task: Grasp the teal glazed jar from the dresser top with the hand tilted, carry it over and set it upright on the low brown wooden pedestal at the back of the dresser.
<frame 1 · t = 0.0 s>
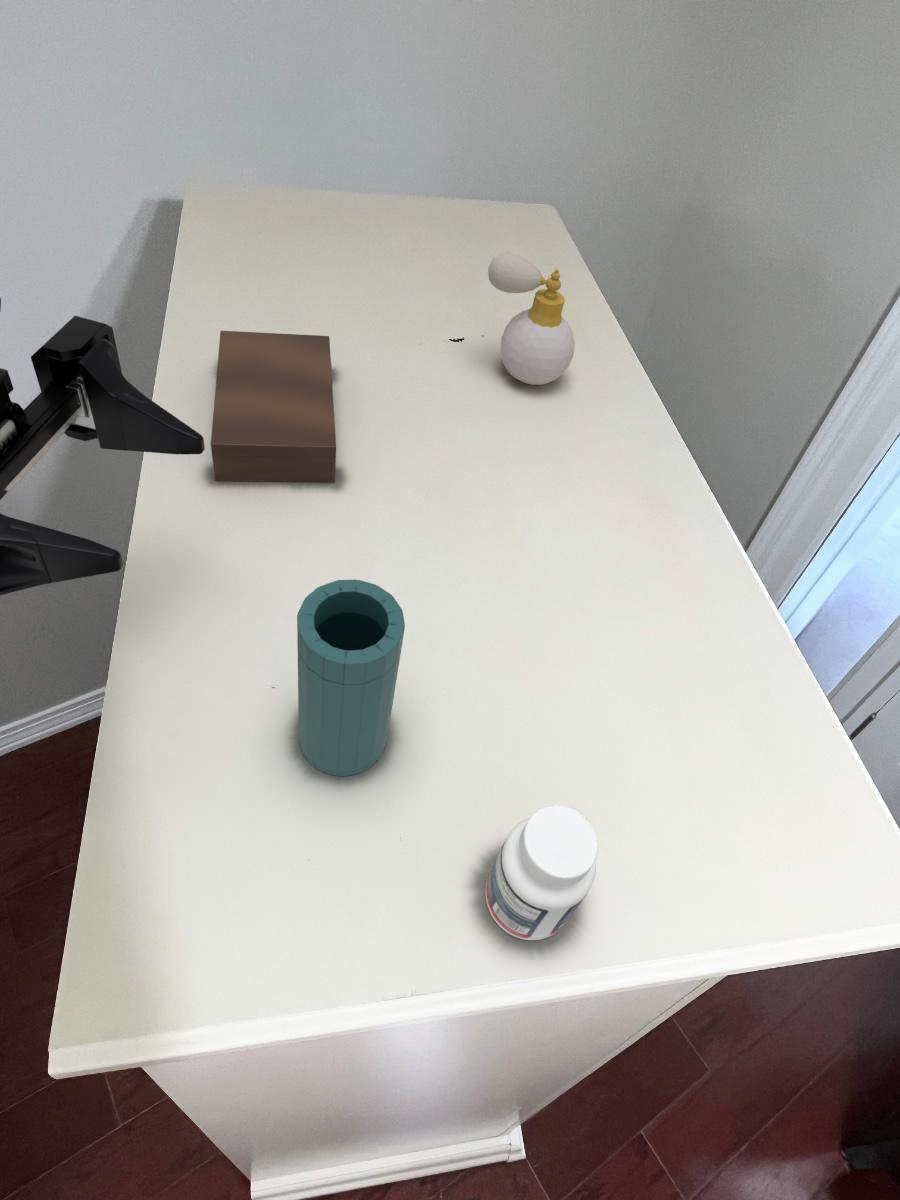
hand: (164, 499, 41), 17 cm above the dresser, tool horizontal, fingers open, 9 cm apart
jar: (342, 736, 53), on the dresser
brown wooden pedestal: (276, 421, 72), on the dresser
perfume bottle: (519, 376, 83), on the dresser
pill bottle: (525, 898, 48), on the dresser
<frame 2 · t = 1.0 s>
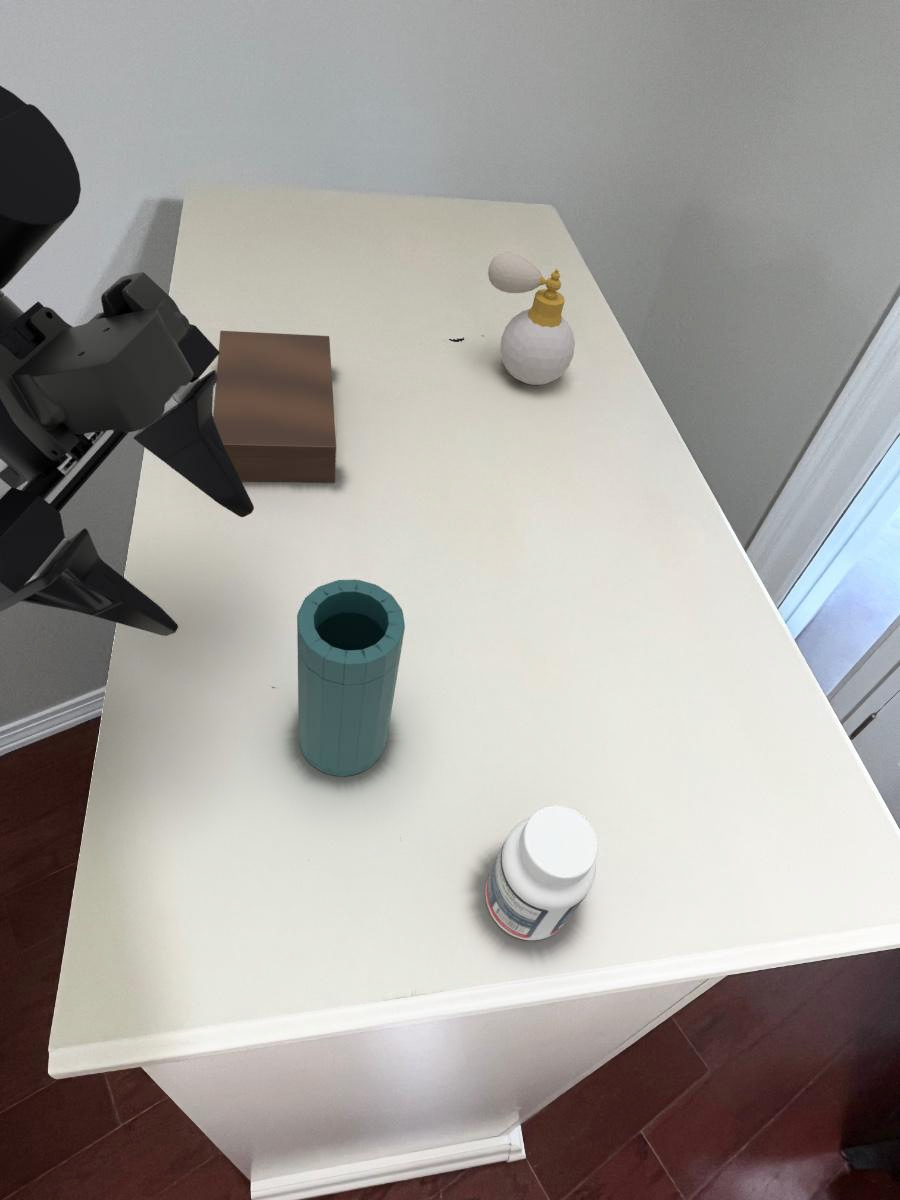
hand: (213, 568, 43), 14 cm above the dresser, tool tilted 45°, fingers open, 9 cm apart
nothing on the dresser moved.
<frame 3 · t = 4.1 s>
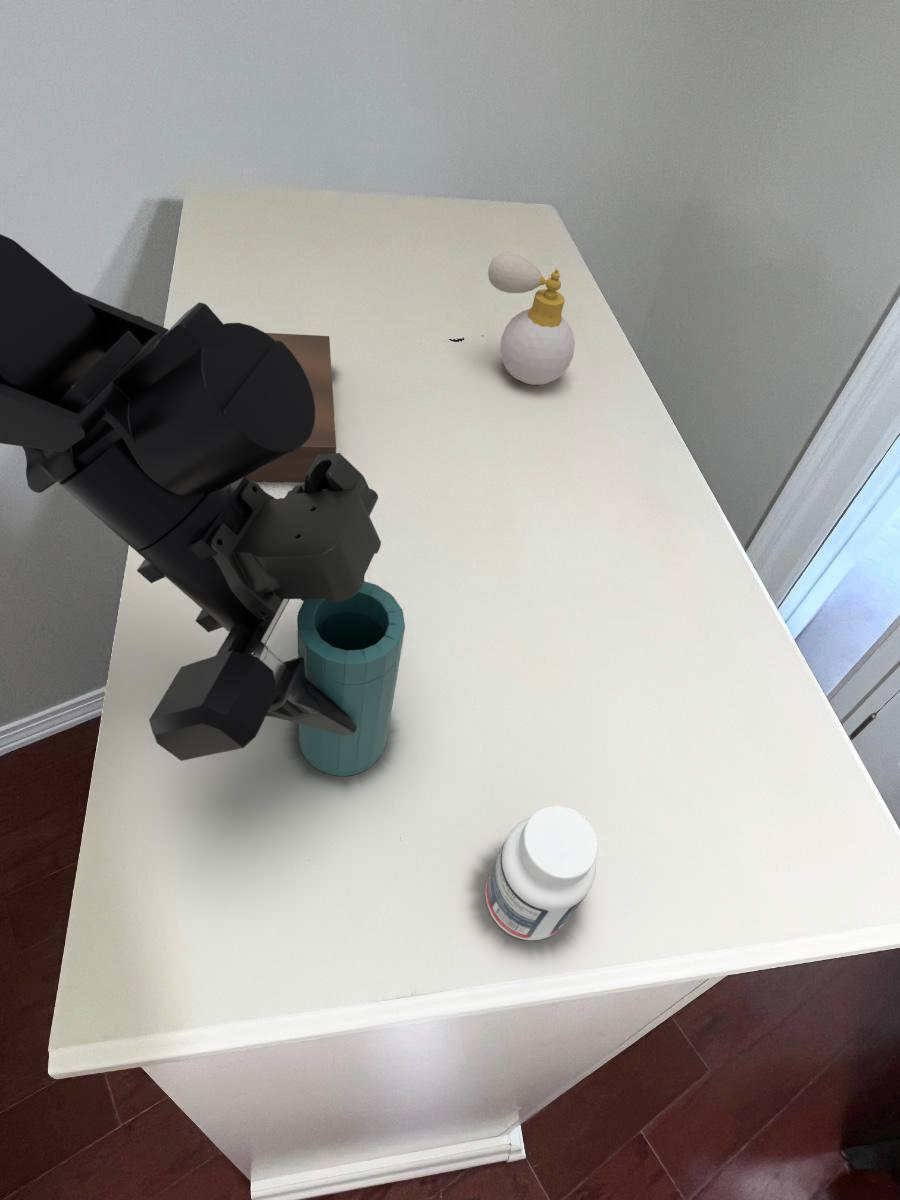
hand: (368, 690, 48), 7 cm above the dresser, tool tilted 45°, fingers closed on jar, 6 cm apart
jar: (342, 736, 53), on the dresser, touching gripper
everything else where it was.
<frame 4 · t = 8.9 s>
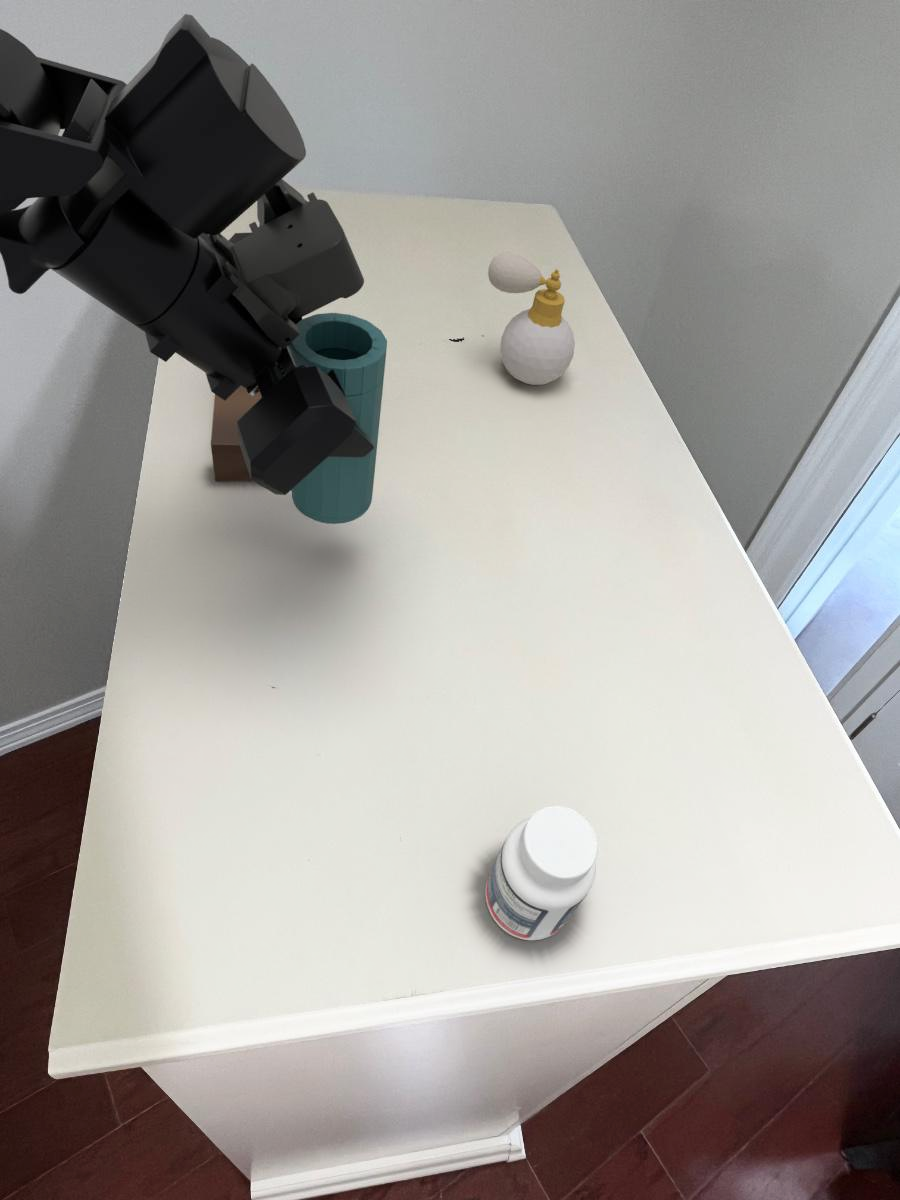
hand: (354, 421, 53), 13 cm above the dresser, tool tilted 45°, fingers closed on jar, 6 cm apart
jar: (332, 495, 58), point 7 cm above the dresser, touching gripper
everything else where it was.
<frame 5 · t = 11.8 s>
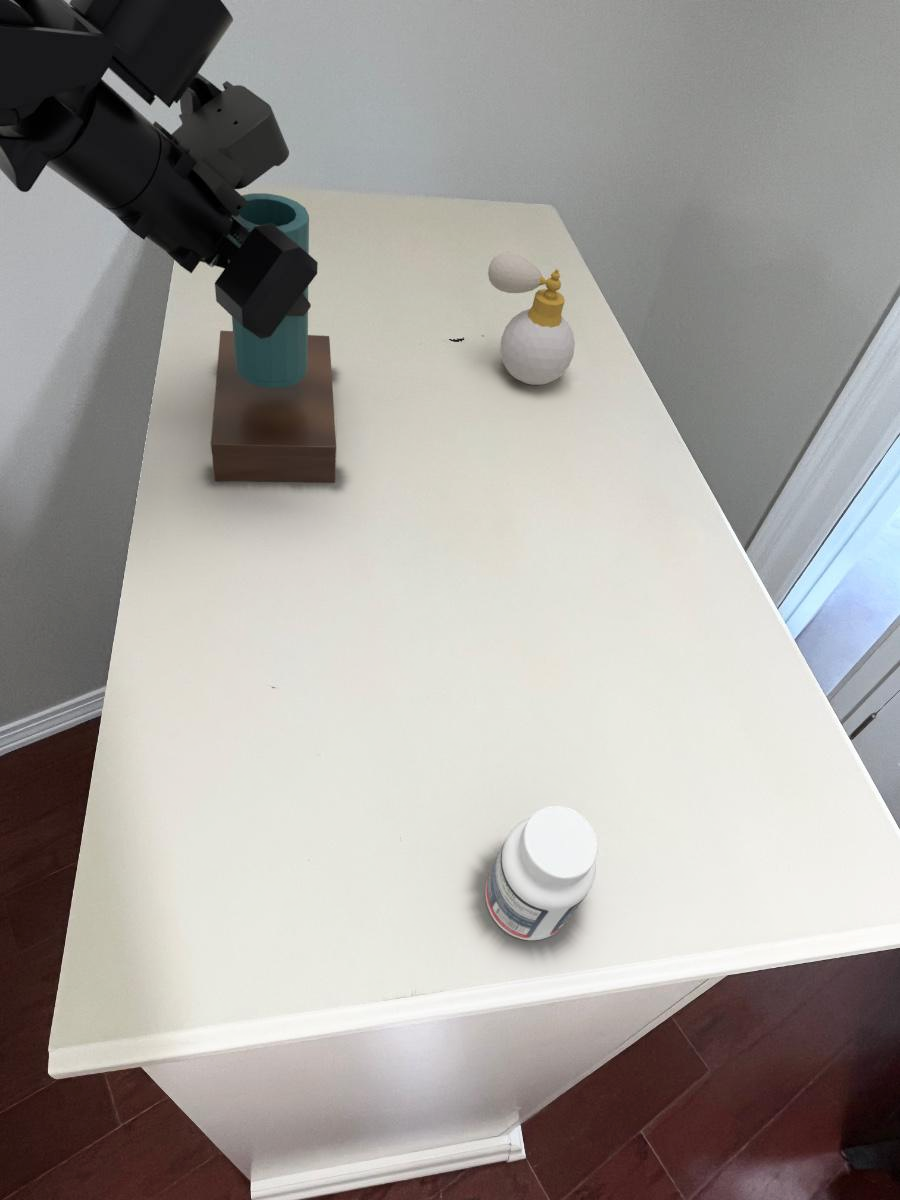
hand: (284, 290, 62), 13 cm above the dresser, tool tilted 45°, fingers closed on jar, 6 cm apart
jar: (271, 367, 66), point 7 cm above the dresser, touching gripper
everything else where it was.
when the fingers open (11 cm above the dresser, at t = 14.1 s): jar stays where it is, resting on brown wooden pedestal.
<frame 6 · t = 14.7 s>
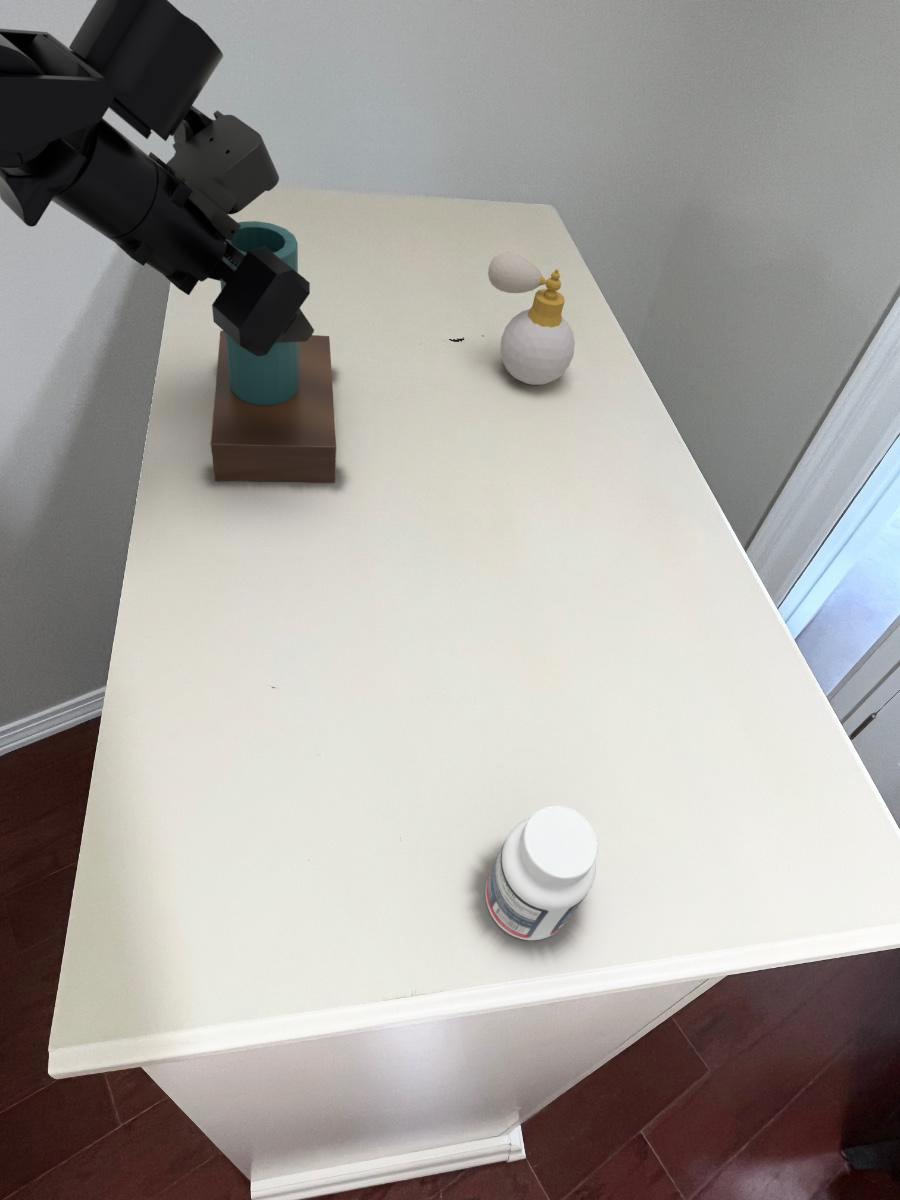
hand: (276, 306, 64), 11 cm above the dresser, tool tilted 45°, fingers open, 9 cm apart
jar: (264, 384, 69), point 4 cm above the dresser, touching brown wooden pedestal
everything else where it was.
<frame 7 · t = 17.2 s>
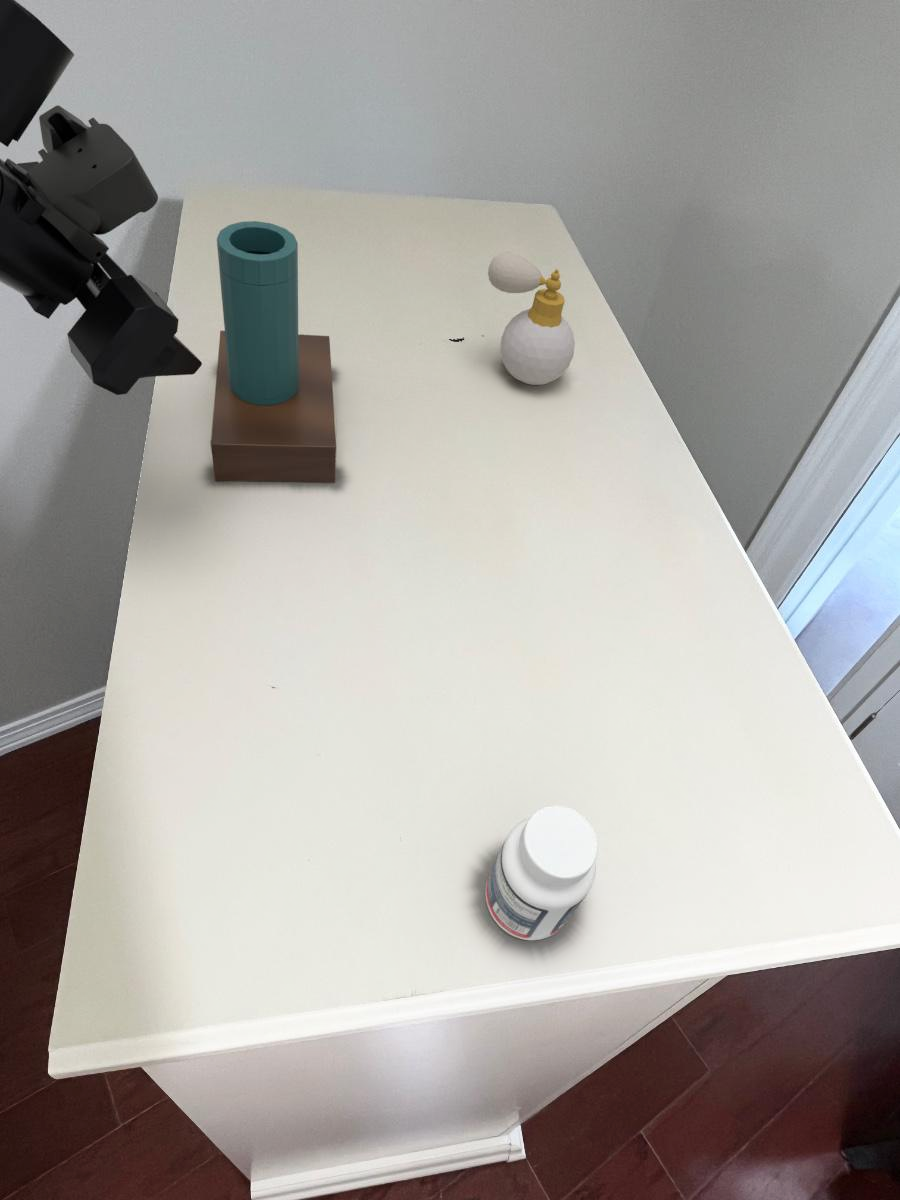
hand: (167, 331, 59), 12 cm above the dresser, tool tilted 45°, fingers open, 9 cm apart
nothing on the dresser moved.
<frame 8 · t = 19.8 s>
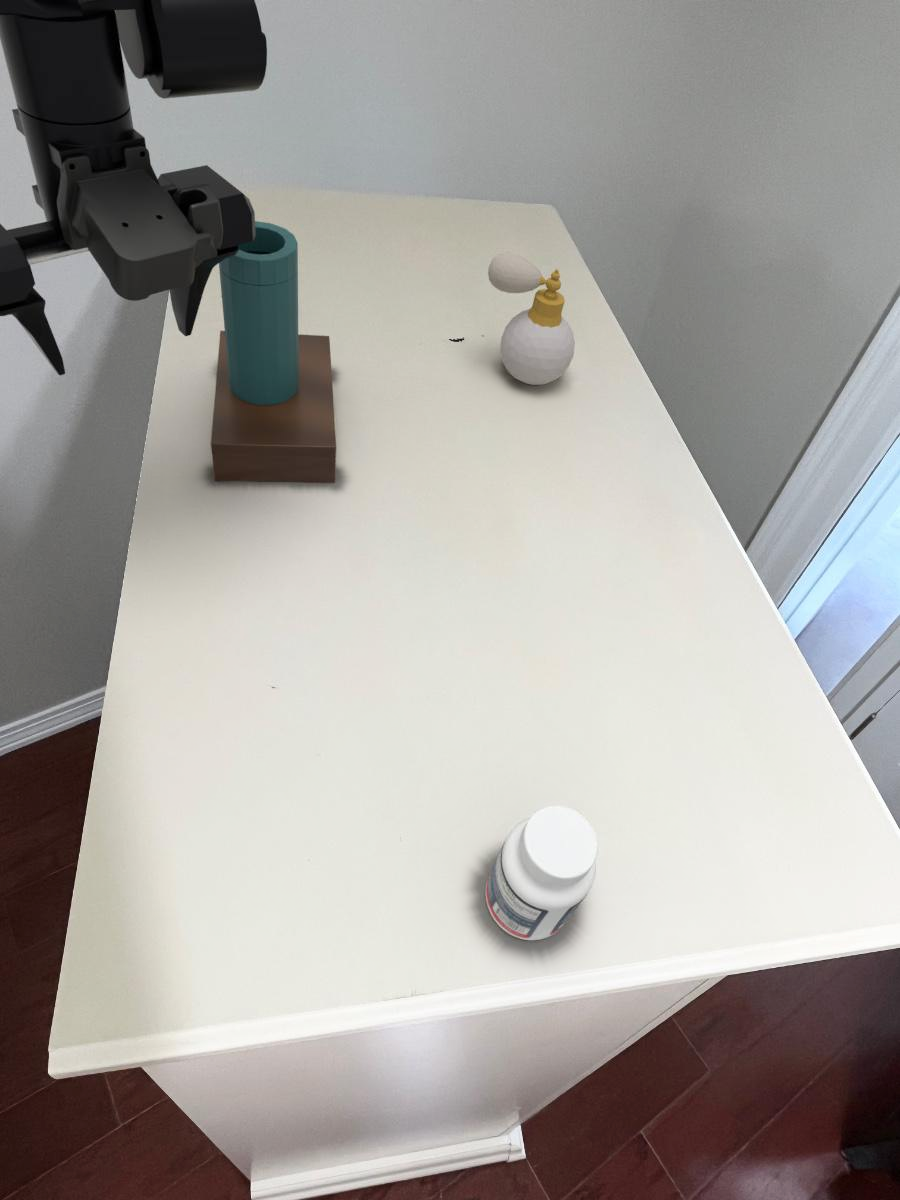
hand: (124, 351, 55), 13 cm above the dresser, tool pointing down, fingers open, 9 cm apart
nothing on the dresser moved.
at the end: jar inside the target area on the brown wooden pedestal (0.9 cm from its centre), point 4.0 cm above the brown wooden pedestal's base; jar tilted 0°; the gripper is holding nothing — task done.
